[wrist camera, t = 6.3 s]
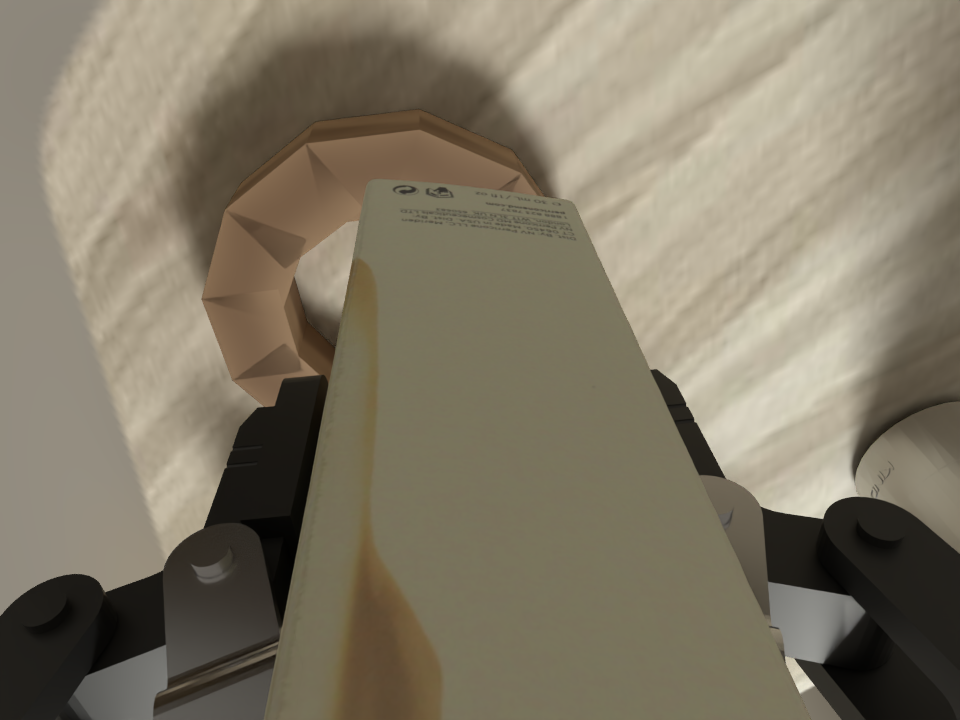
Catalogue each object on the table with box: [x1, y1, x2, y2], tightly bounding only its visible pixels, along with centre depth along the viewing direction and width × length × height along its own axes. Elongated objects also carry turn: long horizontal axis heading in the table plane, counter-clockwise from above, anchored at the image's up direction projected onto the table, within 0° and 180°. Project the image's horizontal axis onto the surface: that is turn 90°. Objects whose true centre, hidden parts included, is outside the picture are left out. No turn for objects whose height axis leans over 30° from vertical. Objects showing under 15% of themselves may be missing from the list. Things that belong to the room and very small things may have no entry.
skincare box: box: [264, 179, 811, 720], centre depth 10 cm, size 6×4×12 cm
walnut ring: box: [202, 109, 545, 407], centre depth 31 cm, size 16×16×3 cm
